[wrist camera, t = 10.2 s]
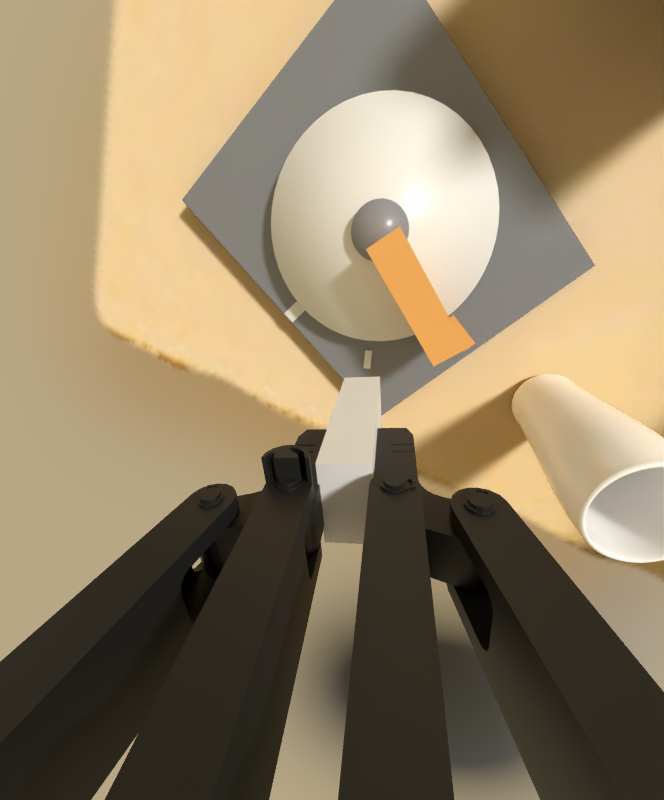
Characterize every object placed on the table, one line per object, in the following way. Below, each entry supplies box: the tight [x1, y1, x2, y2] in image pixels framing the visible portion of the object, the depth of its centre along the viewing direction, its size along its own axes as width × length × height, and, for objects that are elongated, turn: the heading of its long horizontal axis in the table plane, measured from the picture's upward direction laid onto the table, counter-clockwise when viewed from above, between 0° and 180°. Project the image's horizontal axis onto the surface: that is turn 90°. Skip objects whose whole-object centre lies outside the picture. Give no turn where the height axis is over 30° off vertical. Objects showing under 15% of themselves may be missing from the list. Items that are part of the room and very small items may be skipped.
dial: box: [271, 90, 499, 367], centre depth 25 cm, size 18×16×5 cm
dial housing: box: [182, 0, 595, 415], centre depth 28 cm, size 24×20×2 cm
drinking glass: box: [512, 374, 664, 563], centre depth 26 cm, size 7×7×15 cm
